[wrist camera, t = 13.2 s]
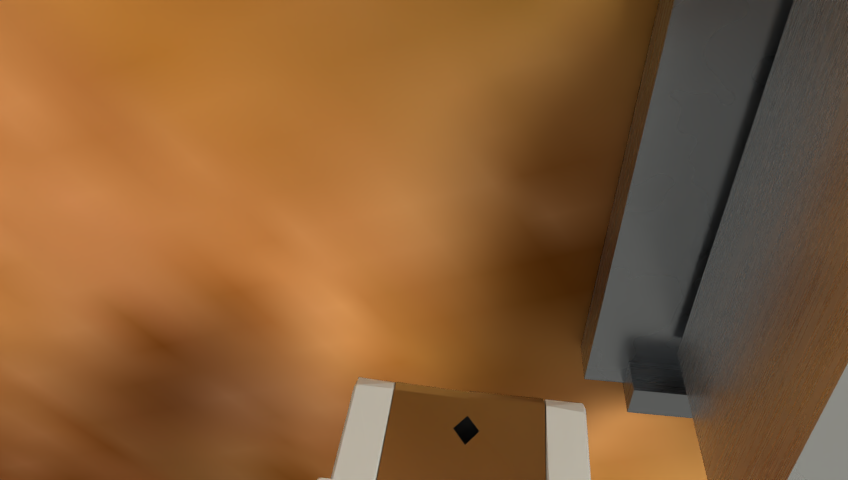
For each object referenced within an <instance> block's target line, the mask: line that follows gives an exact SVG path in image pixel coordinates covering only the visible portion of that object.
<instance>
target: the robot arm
mask: <svg viewBox="0 0 848 480" xmlns="http://www.w3.org/2000/svg"><path fill="white" fill-rule="evenodd" d="M317 480H591V476H590V462H589V447H588V433H587V419H586V409H585V407H584V405H583V403H574V402H565V401H556V400H547V399H545V400H543V399H541V398H531V397H522V396H512V395H502V394H493V393H483V392H474V391H469V392H466V391H459V390H452V389H444V388H437V387H430V386H423V385H416V384H409V383H402V382H391V381H383V380H376V379H369V378H362V377H359V378H358V380H357V382H356V384H355V386H354V389H353V393H352V397H351V401H350V404H349V408H348V412H347V416H346V420H345V424H344V428H343V432H342V436H341V440H340V444H339V448H338V452H337V456H336V460H335V463H334V467H333V471H332V475H331V478H322V477H319V478H318V479H317Z"/></svg>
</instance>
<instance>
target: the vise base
mask: <svg viewBox="0 0 848 480" xmlns="http://www.w3.org/2000/svg"><path fill="white" fill-rule="evenodd" d="M793 1H794V0H659V4H658V8H657V13H656V17H655V22H654V26H653V30H652V35H651V39H650V44H649V48H648V53H647V57H646V61H645V66H644V70H643V75H642V79H641V83H640V88H639V92H638V97H637V101H636V106H635V110H634V114H633V119H632V123H631V128H630V132H629V137H628V141H627V145H626V150H625V154H624V159H623V163H622V167H621V172H620V176H619V181H618V185H617V190H616V194H615V198H614V203H613V207H612V212H611V216H610V221H609V225H608V229H607V234H606V238H605V243H604V247H603V252H602V256H601V260H600V265H599V269H598V274H597V278H596V282H595V287H594V291H593V296H592V300H591V305H590V309H589V313H588V318H587V322H586V327H585V331H584V336H583V340H582V344H581V352H582V361H583V371H584V379H590V380H601V381H612V382H622V383H623V387H624V393H625V400H626V406H627V412H633V413H643V414H654V415H665V416H675V417H686V418H693V417H692V413H691V409H690V405H689V401H688V397H687V393H686V389H685V385H684V380H683V376H682V372H681V368H680V364H679V360H678V356H677V352H678V348H679V345H680V342H681V339H682V336H683V333H684V330H685V327H686V324H687V321H688V318H689V315H690V312H691V309H692V306H693V303H694V300H695V297H696V294H697V291H698V288H699V285H700V282H701V279H702V276H703V273H704V270H705V267H706V264H707V261H708V258H709V255H710V252H711V249H712V246H713V243H714V240H715V237H716V234H717V231H718V228H719V225H720V222H721V219H722V216H723V213H724V210H725V207H726V203H727V200H728V197H729V194H730V191H731V188H732V185H733V182H734V179H735V176H736V173H737V170H738V167H739V164H740V161H741V158H742V155H743V152H744V149H745V146H746V143H747V140H748V137H749V134H750V131H751V128H752V125H753V122H754V119H755V116H756V113H757V110H758V107H759V104H760V101H761V98H762V95H763V92H764V89H765V86H766V83H767V80H768V77H769V74H770V71H771V68H772V65H773V62H774V59H775V55H776V52H777V49H778V46H779V43H780V40H781V37H782V34H783V31H784V28H785V25H786V22H787V19H788V16H789V13H790V10H791V7H792V4H793Z"/></svg>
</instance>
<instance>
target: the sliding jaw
mask: <svg viewBox="0 0 848 480" xmlns="http://www.w3.org/2000/svg"><path fill="white" fill-rule="evenodd" d="M677 356H678V360H679V364H680V368H681V372H682V376H683V380H684V385H685V389H686V393H687V397H688V401H689V405H690V409H691V413H692V417H693V422H694V426H695V430H696V434H697V438H698V442H699V446H700V450H701V454H702V459H703V463H704V467H705V471H706V475H707V479H708V480H848V0H794V1H793V4H792V7H791V10H790V13H789V16H788V19H787V22H786V25H785V28H784V31H783V34H782V37H781V40H780V43H779V46H778V49H777V52H776V55H775V59H774V62H773V65H772V68H771V71H770V74H769V77H768V80H767V83H766V86H765V89H764V92H763V95H762V98H761V101H760V104H759V107H758V110H757V113H756V116H755V119H754V122H753V125H752V128H751V131H750V134H749V137H748V140H747V143H746V146H745V149H744V152H743V155H742V158H741V161H740V164H739V167H738V170H737V173H736V176H735V179H734V182H733V185H732V188H731V191H730V194H729V197H728V200H727V203H726V207H725V210H724V213H723V216H722V219H721V222H720V225H719V228H718V231H717V234H716V237H715V240H714V243H713V246H712V249H711V252H710V255H709V258H708V261H707V264H706V267H705V270H704V273H703V276H702V279H701V282H700V285H699V288H698V291H697V294H696V297H695V300H694V303H693V306H692V309H691V312H690V315H689V318H688V321H687V324H686V327H685V330H684V333H683V336H682V339H681V342H680V345H679V348H678V352H677Z"/></svg>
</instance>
